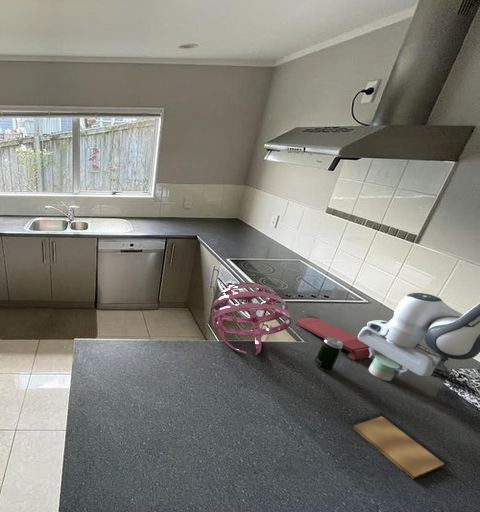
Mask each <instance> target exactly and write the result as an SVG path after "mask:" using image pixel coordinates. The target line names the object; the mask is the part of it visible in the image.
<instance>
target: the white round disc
mask: <svg viewBox="0 0 480 512" xmlns="http://www.w3.org/2000/svg"><path fill="white" fill-rule="evenodd" d="M368 372H369V373H370V374H371V375H373V376H374V377H376V378H377V379H379V380H383V381H386V382H390V381H393V379H394V378H395V376H396V374H394V375H391V374H387V373H384V372H382V371H380V370H378V369H376V368H375V367H374V366H373V365H372V362H371V363H370V365H369V367H368Z"/></svg>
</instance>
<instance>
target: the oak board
mask: <svg viewBox="0 0 480 512" xmlns="http://www.w3.org/2000/svg"><path fill="white" fill-rule="evenodd" d="M352 429H353V430H354V431H355V432H356V433H357V434H359V435H360V436H361V437H362V438H363V439H364V440H365V441H367V442H368V443H369V444H370V445H371V446H372V447H374V448H375V449H376V450H377V451H378V452H379V453H380V454H382V455H383V456H384V457H385V458H387V459H388V460H389V461H390V462H391V463H392V464H394V465H395V466H396V467H397V468H398V469H400V470H401V472H403V471H404V472H405V473H406V474H405V473H404V472H403V473H404V474H405V475H407V476H408V475H409V476H410V477H411V478H412V479H411V478H410V477H409V476H408V477H409V478H410V479H411V480H415V479H417V478H419V476H420V477H421V475H422V476H424V475H427V474H429V473H431V472H433V470H434V471H435V470H439V469H440V468H443V467H444V466H445V462H443V461H441V459H439V458H438V457H436V456H435V455H434V454H433V453H432V452H430V451H428V449H426V448H424V446H422V445H421V444H420V443H418V442H417V441H415V440H414V439H413V438H411V436H409V435H408V434H407V433H405V432H404V431H402V430H401V429H399V428H398V427H397V426H395V425H394V424H393V423H391V422H390V421H389V420H388V419H386V418H385V417H383V416H379V417H376V418H373V419H370V420H366V421H364V422H361V423H357V424H354V425H353V427H352ZM428 472H429V473H428ZM426 473H427V474H426ZM414 478H415V479H414Z"/></svg>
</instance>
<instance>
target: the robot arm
mask: <svg viewBox="0 0 480 512" xmlns="http://www.w3.org/2000/svg"><path fill="white" fill-rule="evenodd" d="M357 337H358V339H359V341H361V342H363V343H365V344H366V345H368V346H370V347H369V352H370V356H369V357H368V358H369V359H371V360H372V361H373V360H374V358H375V356H376V355H377V354H376V351H377V352H378V353H380V354H381V355H382V356H386V357H388V358H390V359H392V360H393V361H395V362H397V363H398V364H399V365H400V366H402V367H401V368H399V369H396V370H395V372H394V373H395V376H398V377H401V376H403V374H404V373H406V372H408V371H409V372H412V373H413V374H415V375H417V376H419V377H421V378H424V377H426V378H427V377H429V376H432V375H431V374H432V373H433V371H434V369H435V366H437V365H438V364H439V362H440V360H441V359H440V357H439V356H438V355H437V354H439V355H441V356H444V357H447V358H448V359H451V360H457V361H458V360H459V361H461V360H462V361H464V360H470V359H473V358H476V357H477V356H478V355H480V301H479V302H478V303H477V304H475V305H474V306H473V307H471V308H470V309H469V310H467V311H466V312H465V313H461V312H459V311H457V310H456V309H454V308H452V307H450V306H449V305H448V304H447V303H446V302H445V301H443V299H441V298H440V297H438V296H436V295H433V294H429V293H424V292H412V293H407V295H404V297H403V298H402V299H401V300H400V301H399V302H398V304H397V306H396V308H395V309H394V310H393V315H392V318H391V319H390V320H388V321H387V320H383V319H376V320H370V321H368V322H367V324H366V326H363V327H362V328H361V330H360V331H359V333H358V334H357ZM423 339H424V343H425V344H426V346H427V347H428V348H427V347H426V346H423V345H422V344H421V343H422V341H423ZM436 356H437V357H436Z"/></svg>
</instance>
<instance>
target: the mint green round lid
mask: <svg viewBox="0 0 480 512" xmlns="http://www.w3.org/2000/svg"><path fill="white" fill-rule="evenodd" d="M371 363H372V365H373V366H374V367H375V368H376V369H378V370H380V371H382V372H384V373H387V374H391V375H394V374H395V373H394V372H395V370H396V369H401V368H400V367H401V365H400V364H398V363H397V362H395V361H393V360H392V359H390V358H388V357H387V356H385V355H383V354H376V356H375V358H374V360H372V361H371ZM395 375H396V374H395Z"/></svg>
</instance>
